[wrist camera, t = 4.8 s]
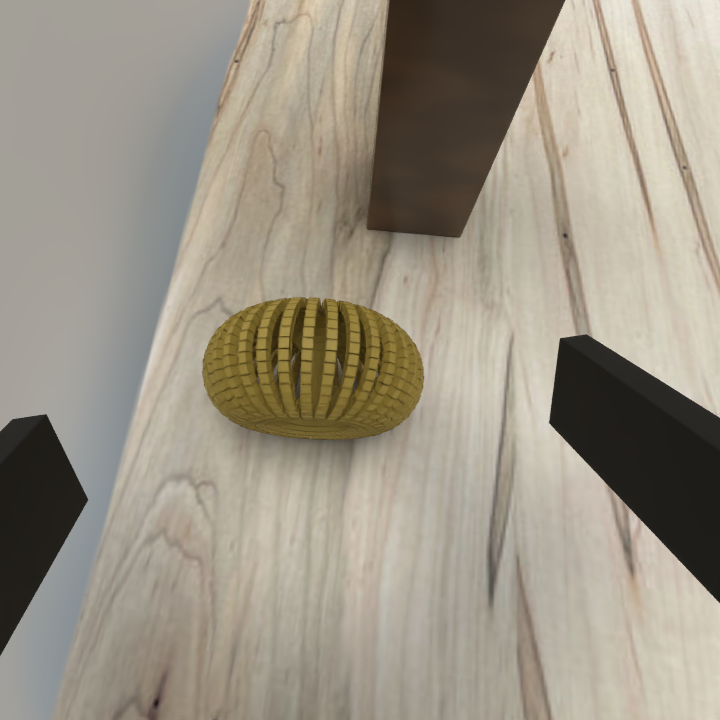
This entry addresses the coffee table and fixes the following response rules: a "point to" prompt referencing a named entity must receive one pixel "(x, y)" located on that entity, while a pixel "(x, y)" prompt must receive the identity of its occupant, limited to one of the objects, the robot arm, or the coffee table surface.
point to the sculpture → (313, 370)
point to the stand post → (448, 104)
